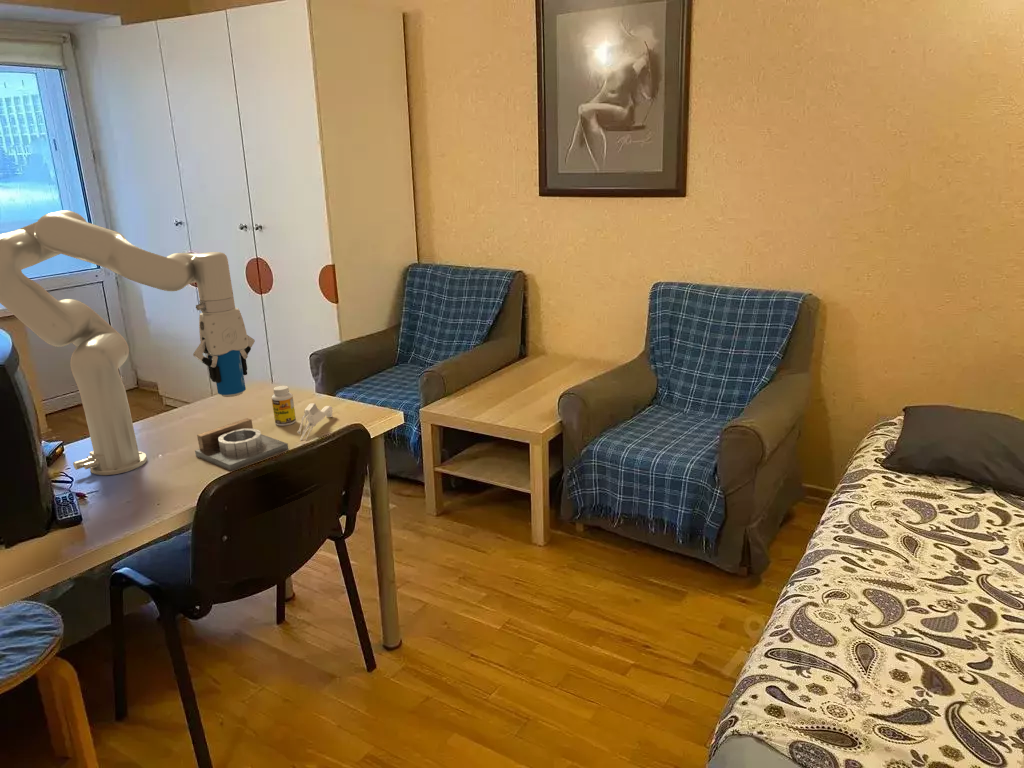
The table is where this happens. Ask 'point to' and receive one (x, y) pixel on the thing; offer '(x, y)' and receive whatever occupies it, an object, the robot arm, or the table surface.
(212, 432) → the jig
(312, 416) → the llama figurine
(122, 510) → the table surface
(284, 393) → the supplement bottle
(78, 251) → the robot arm
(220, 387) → the beverage can
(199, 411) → the table surface
